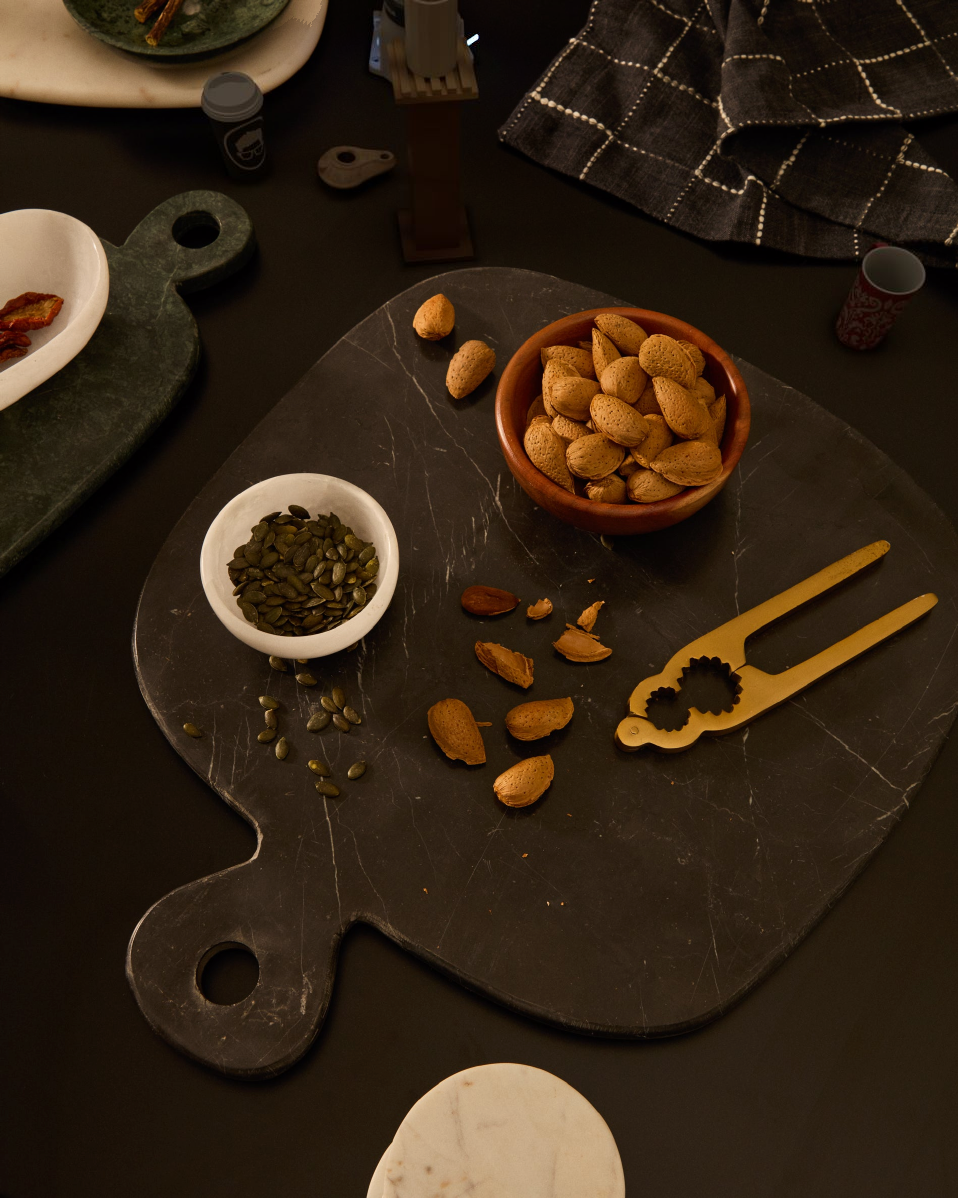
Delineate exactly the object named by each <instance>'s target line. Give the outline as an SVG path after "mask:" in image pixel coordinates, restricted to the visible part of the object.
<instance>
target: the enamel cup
mask: <svg viewBox="0 0 958 1198" xmlns="http://www.w3.org/2000/svg"><path fill="white" fill-rule="evenodd" d="M403 4H404V25H405V47H406V61H407V65H408V67H409V69H410V70H411V71H412V72H413V73H415V74H417V75H419V76H422V77H426V78H438V77H442V76H445V75H447V74H449V73H450V72H452V71H453V70H454V68H455V66H456V64H457V21H458V13H459V12H458V9H459V8H458V5H459V1H458V0H403Z"/></svg>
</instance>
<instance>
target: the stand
mask: <svg viewBox="0 0 958 1198" xmlns="http://www.w3.org/2000/svg"><path fill="white" fill-rule="evenodd" d="M404 105H405V106H404V108H405V129H406V148H407V168H408V170H407V171H408V188H409V207H410V208H409V209H405V210H404V209H403V210H397V211H396V215H397V216H396V217H397V222H398V228H399V235H400V241H401V248H402V254H403V260H404V266H405V267H411V266H412V267H413V266H423V265H432V264H444V263H454V262H455V263H456V262H463V261H473V260H474V259H475V254H474V250H473V243H472V239H471V233H470V229H469V222H468V218H467V213H466V207H465V205H464V204H461V161H462V160H461V159H462V158H461V153H462V152H461V150H462V147H461V145H462V144H461V143H462V100H451V101H439V102H426V103H414V104H404Z"/></svg>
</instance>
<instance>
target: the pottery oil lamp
mask: <svg viewBox="0 0 958 1198" xmlns="http://www.w3.org/2000/svg"><path fill="white" fill-rule="evenodd" d="M396 163H397V160H396V157H395V155H394V153H392V152H390V151H389V150H383V149H381V150H380V149H377V150H376V149H364V148H360V147H358V146H357V147H356V146H351V145H342V146H341V145H340V146H335V147H331V148H330V149H329V150H328V151H326V152H324V153H323V155H322V156H321V157H320V159H319V160H318V162H317V172H318V176H319V178H320V179H321V180H322V181H323V182H324V183H325V184H326V185H327V186H329V187H331V188H335V189H338V190H353V189H356V188H358V187H360V186H361V185H362V184H363V183H365V182H367V181H369V180H371V179H373V178H376V177H378V176H381V175H383V174H386V173H387V172H390V171H391V170H392V168H394V167H395V165H396Z"/></svg>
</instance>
